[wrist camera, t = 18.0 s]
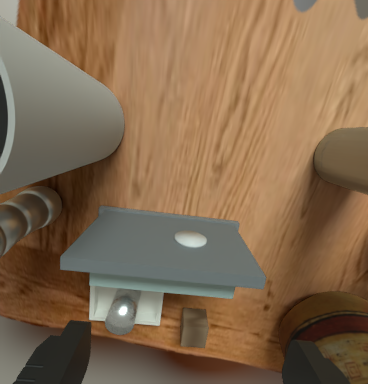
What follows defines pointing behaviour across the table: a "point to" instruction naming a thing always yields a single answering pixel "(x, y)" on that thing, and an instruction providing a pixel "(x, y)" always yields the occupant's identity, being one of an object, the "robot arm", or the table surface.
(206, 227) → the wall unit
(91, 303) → the tray
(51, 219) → the plastic bottle
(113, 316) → the steel cylinder
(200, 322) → the walnut block
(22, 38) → the cylinder vase
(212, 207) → the table surface
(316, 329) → the ceramic pitcher
